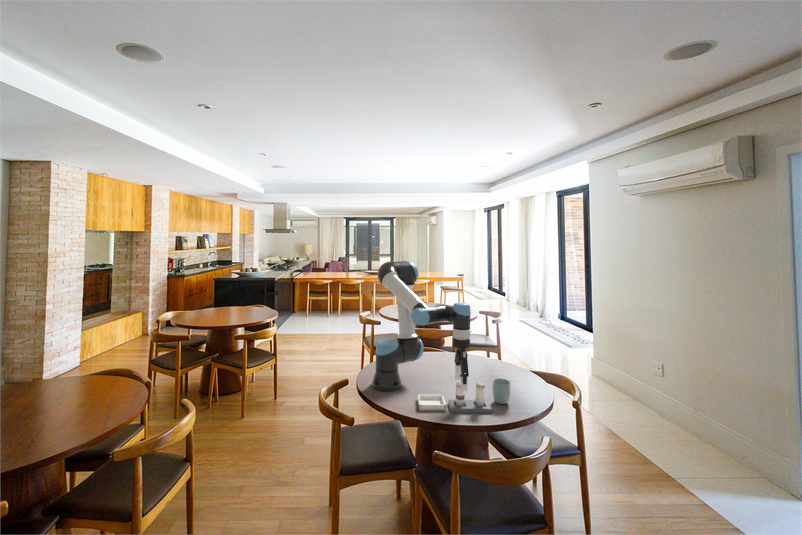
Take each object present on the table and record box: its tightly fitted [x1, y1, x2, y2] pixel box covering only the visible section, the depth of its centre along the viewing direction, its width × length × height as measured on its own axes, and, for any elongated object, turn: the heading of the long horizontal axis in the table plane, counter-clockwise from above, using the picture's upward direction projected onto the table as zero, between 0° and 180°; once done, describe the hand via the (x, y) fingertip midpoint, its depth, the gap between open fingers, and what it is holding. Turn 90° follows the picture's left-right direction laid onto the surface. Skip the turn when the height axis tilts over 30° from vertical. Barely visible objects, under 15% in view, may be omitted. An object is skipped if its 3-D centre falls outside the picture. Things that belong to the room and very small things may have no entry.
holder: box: [448, 399, 494, 414], centre depth 157 cm, size 18×9×2 cm, turn 91°
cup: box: [492, 378, 511, 405], centre depth 163 cm, size 8×8×10 cm
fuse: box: [475, 382, 486, 407], centre depth 157 cm, size 4×4×11 cm
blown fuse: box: [455, 381, 466, 407], centre depth 157 cm, size 4×4×11 cm
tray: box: [417, 394, 447, 412], centre depth 160 cm, size 12×11×2 cm
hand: (461, 385), depth 156 cm, fingers open, 13 cm apart
